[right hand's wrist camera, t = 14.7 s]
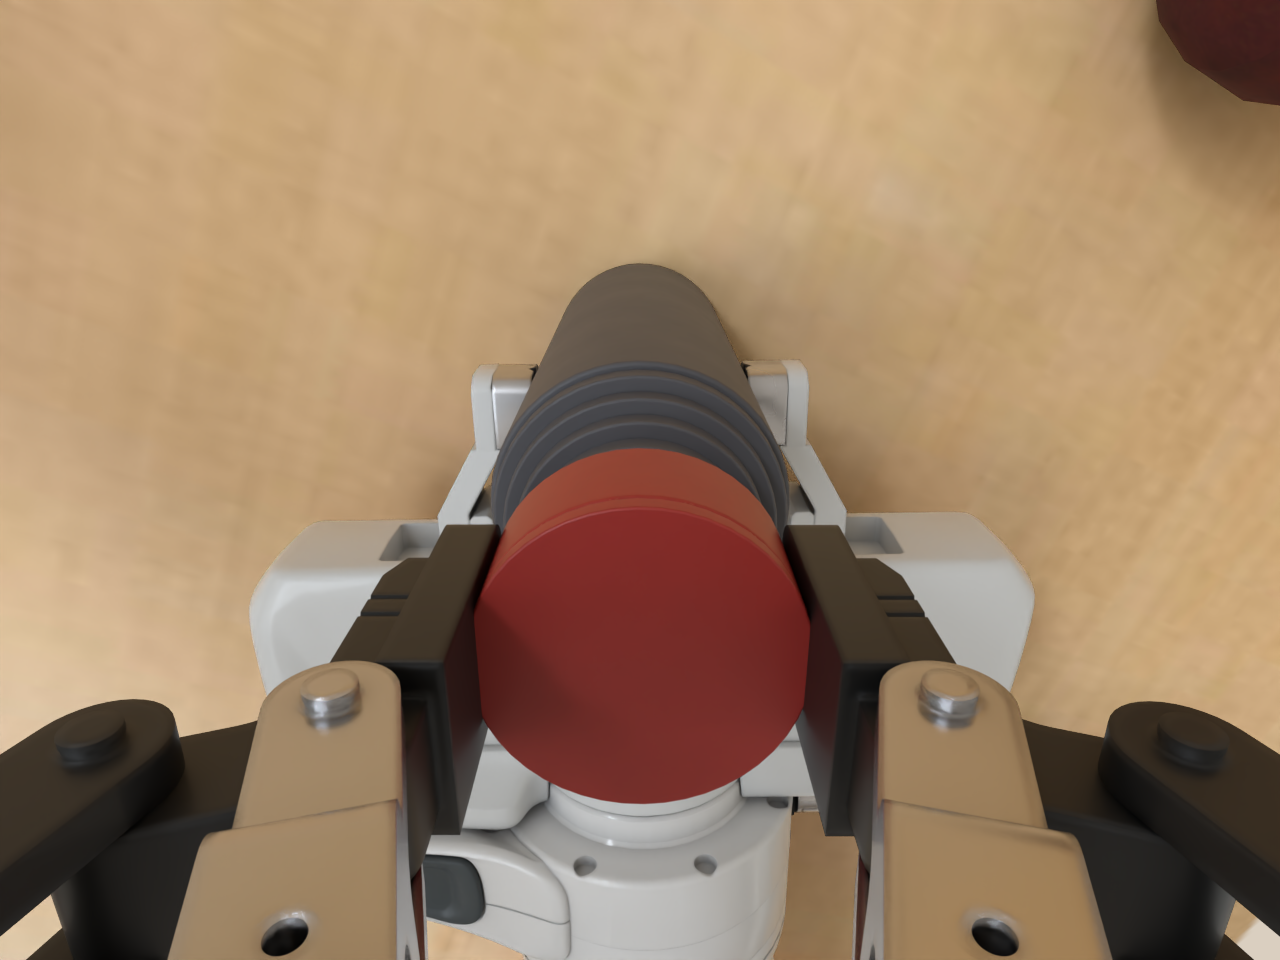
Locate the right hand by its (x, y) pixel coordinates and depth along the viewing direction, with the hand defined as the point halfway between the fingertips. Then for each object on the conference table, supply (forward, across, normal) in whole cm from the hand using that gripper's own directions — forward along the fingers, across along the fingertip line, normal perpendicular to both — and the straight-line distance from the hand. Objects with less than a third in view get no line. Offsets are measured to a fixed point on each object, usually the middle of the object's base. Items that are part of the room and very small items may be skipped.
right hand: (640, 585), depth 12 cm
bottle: (+16, 0, 0) cm, 16 cm away
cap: (-2, 0, 0) cm, 2 cm away
